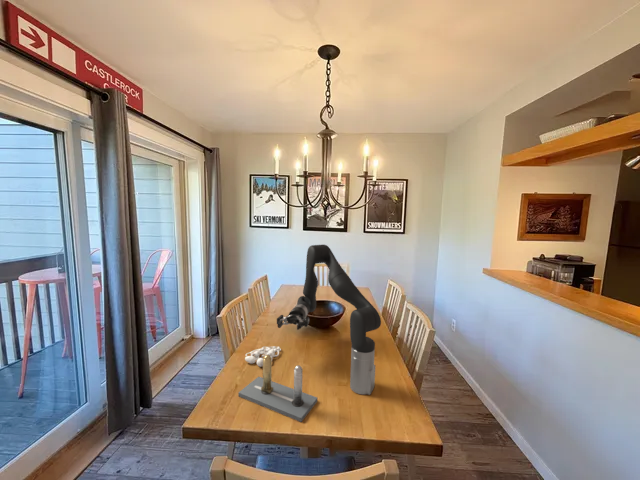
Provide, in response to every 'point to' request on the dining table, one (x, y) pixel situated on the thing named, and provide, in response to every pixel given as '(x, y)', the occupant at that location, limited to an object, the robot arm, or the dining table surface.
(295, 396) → the fixed leg
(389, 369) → the dining table surface
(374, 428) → the dining table surface
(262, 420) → the dining table surface
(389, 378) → the dining table surface
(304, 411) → the board
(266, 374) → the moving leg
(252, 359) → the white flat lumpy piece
